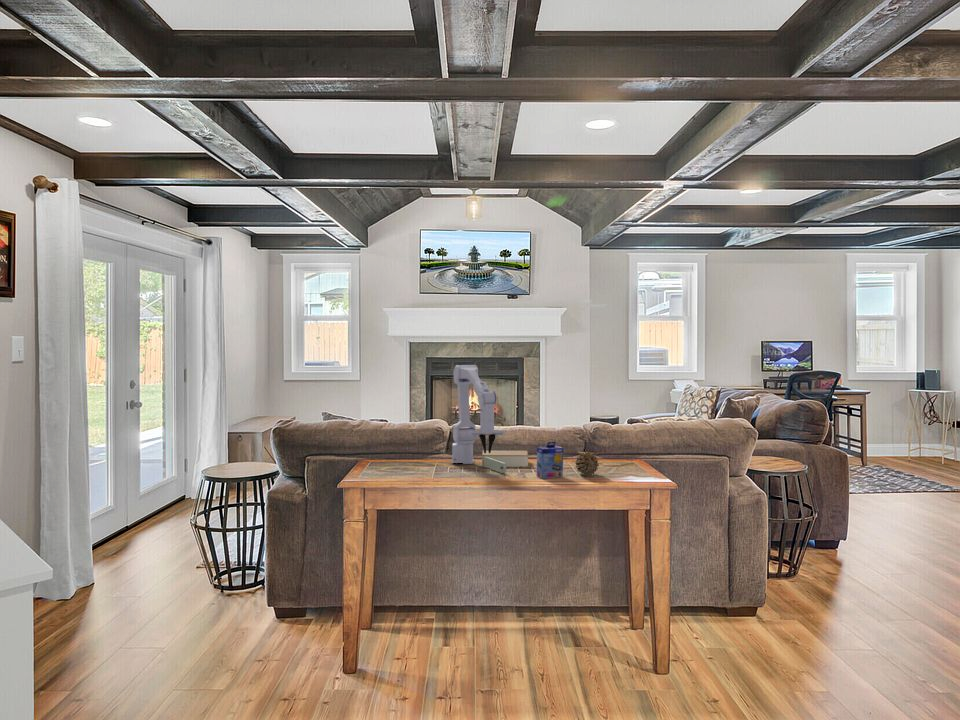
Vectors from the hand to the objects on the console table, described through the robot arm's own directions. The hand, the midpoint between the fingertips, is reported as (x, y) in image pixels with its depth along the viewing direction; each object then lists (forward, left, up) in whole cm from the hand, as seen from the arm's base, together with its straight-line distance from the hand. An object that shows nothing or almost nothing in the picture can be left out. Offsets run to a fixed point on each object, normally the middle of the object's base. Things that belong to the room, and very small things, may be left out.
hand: (487, 452), depth 276 cm
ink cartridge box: (+25, -8, -9) cm, 28 cm away
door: (+2, +5, -8) cm, 10 cm away
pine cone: (+40, -1, -9) cm, 41 cm away
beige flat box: (+7, +20, -8) cm, 23 cm away
